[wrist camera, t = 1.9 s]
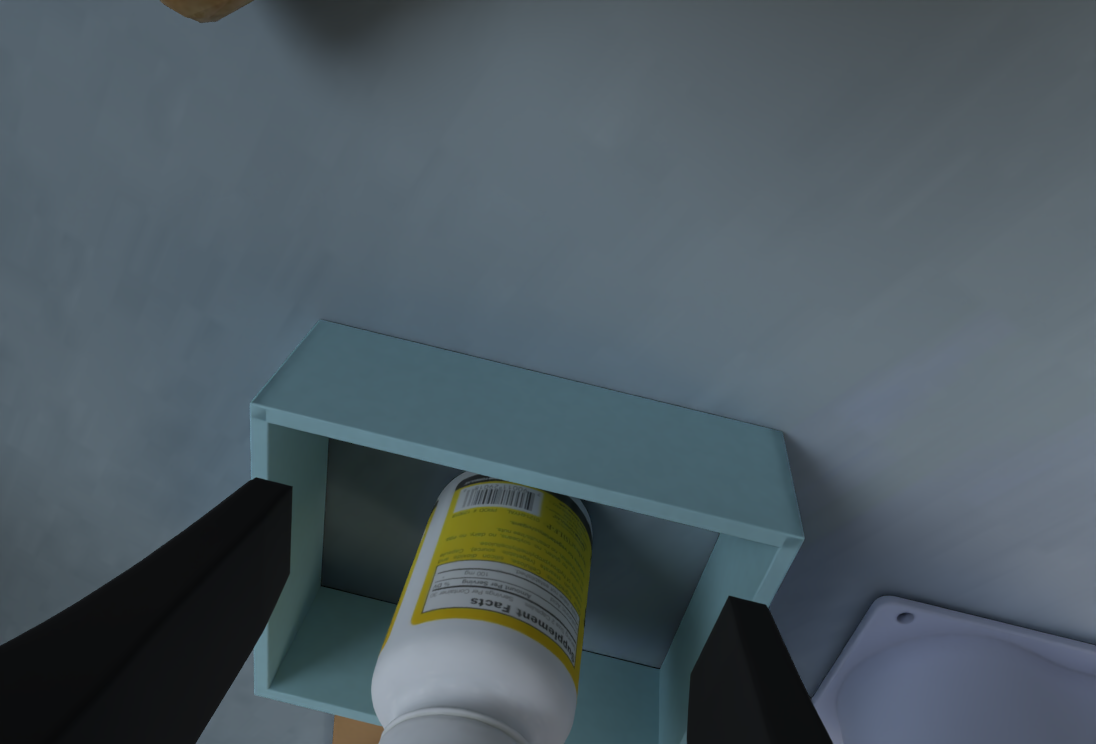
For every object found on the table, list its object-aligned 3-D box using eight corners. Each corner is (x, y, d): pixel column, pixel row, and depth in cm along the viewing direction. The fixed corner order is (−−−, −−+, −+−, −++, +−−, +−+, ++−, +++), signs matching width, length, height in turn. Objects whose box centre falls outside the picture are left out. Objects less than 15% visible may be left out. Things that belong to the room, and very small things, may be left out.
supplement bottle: (516, 600, 28) (451, 897, 20) (404, 509, 26) (282, 791, 18) (630, 533, 25) (611, 839, 17) (514, 428, 24) (432, 710, 16)
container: (783, 431, 23) (806, 538, 19) (668, 680, 29) (668, 797, 25) (319, 318, 23) (248, 402, 19) (307, 591, 29) (253, 695, 25)
